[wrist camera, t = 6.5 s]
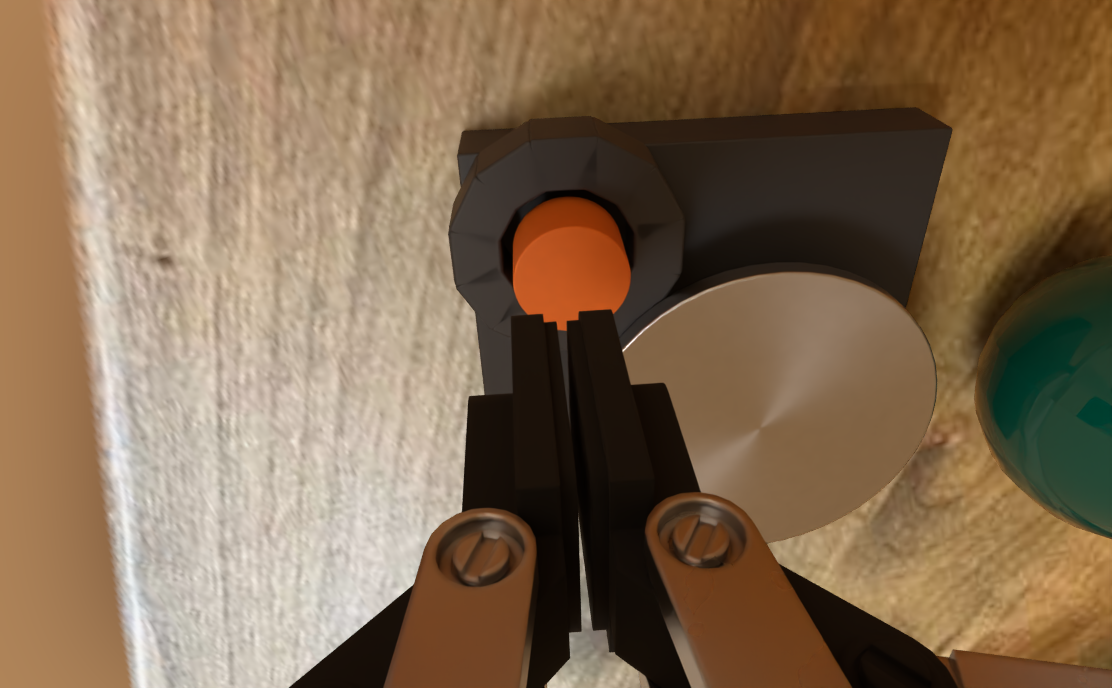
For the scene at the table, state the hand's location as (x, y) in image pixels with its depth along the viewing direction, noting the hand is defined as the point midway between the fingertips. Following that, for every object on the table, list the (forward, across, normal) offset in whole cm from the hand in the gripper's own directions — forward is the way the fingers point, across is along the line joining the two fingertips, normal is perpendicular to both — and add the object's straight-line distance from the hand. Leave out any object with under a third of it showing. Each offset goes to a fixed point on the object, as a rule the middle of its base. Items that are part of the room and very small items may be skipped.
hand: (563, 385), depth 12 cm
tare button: (+6, -1, 0) cm, 6 cm away
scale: (+9, -4, +4) cm, 11 cm away
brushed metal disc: (+5, -6, +6) cm, 9 cm away
